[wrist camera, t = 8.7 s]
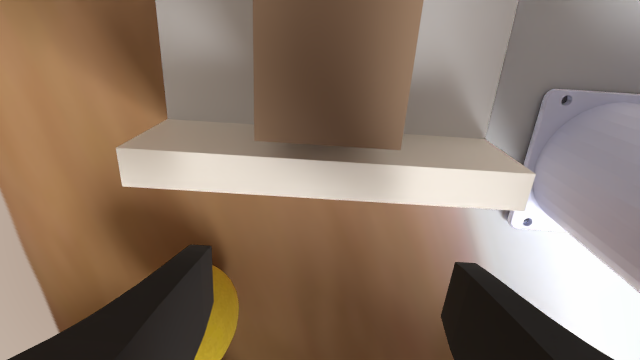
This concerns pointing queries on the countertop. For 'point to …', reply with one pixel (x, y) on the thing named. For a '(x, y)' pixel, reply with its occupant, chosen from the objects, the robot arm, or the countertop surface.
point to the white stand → (331, 161)
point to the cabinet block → (333, 71)
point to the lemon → (220, 318)
